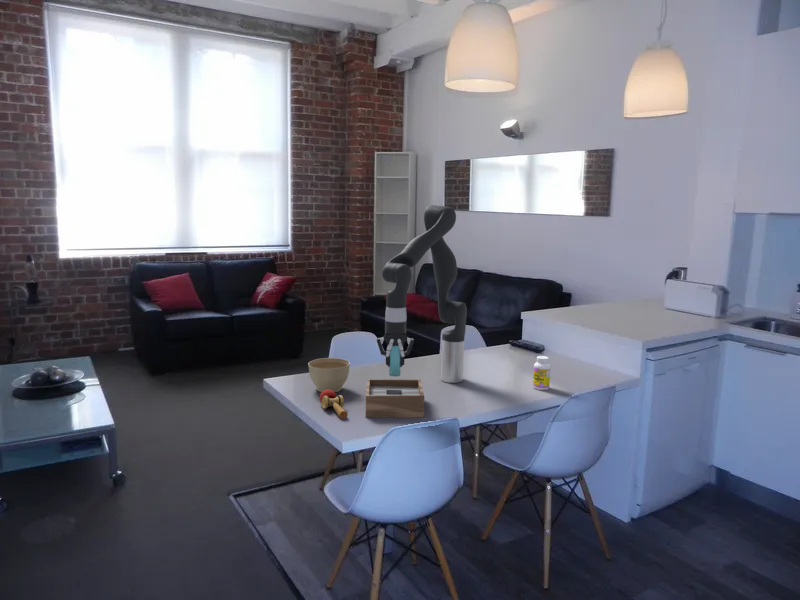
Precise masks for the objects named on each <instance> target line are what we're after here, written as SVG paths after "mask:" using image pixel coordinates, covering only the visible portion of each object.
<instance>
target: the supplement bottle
mask: <svg viewBox="0 0 800 600" xmlns="http://www.w3.org/2000/svg"><path fill="white" fill-rule="evenodd" d="M549 361H550V357H548V356H546V355H538V356H536V362H535V363H534V364H533V375H532V388H533V389H535V390H539V391H547V390H549V389H550V379H551V368H552V367H551V366H552V365H551V364H550V362H549Z"/></svg>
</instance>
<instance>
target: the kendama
mask: <svg viewBox="0 0 800 600" xmlns="http://www.w3.org/2000/svg"><path fill="white" fill-rule="evenodd" d="M319 402H320V404H321V407H322V409H327V408H328V407H333V409H334V411H335V412H336V414H337V416H338V417H339V419H341V420H344V419H346V418H347V417H348V412H347V411H346V410H345V409H344V408H343V407H344V404H345V403H344V402H345V401H344V397H343V395H341V394H339V395H337V394H336V392H334V391H332V390H324V391H323V392H320V394H319ZM343 418H344V419H343Z"/></svg>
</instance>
